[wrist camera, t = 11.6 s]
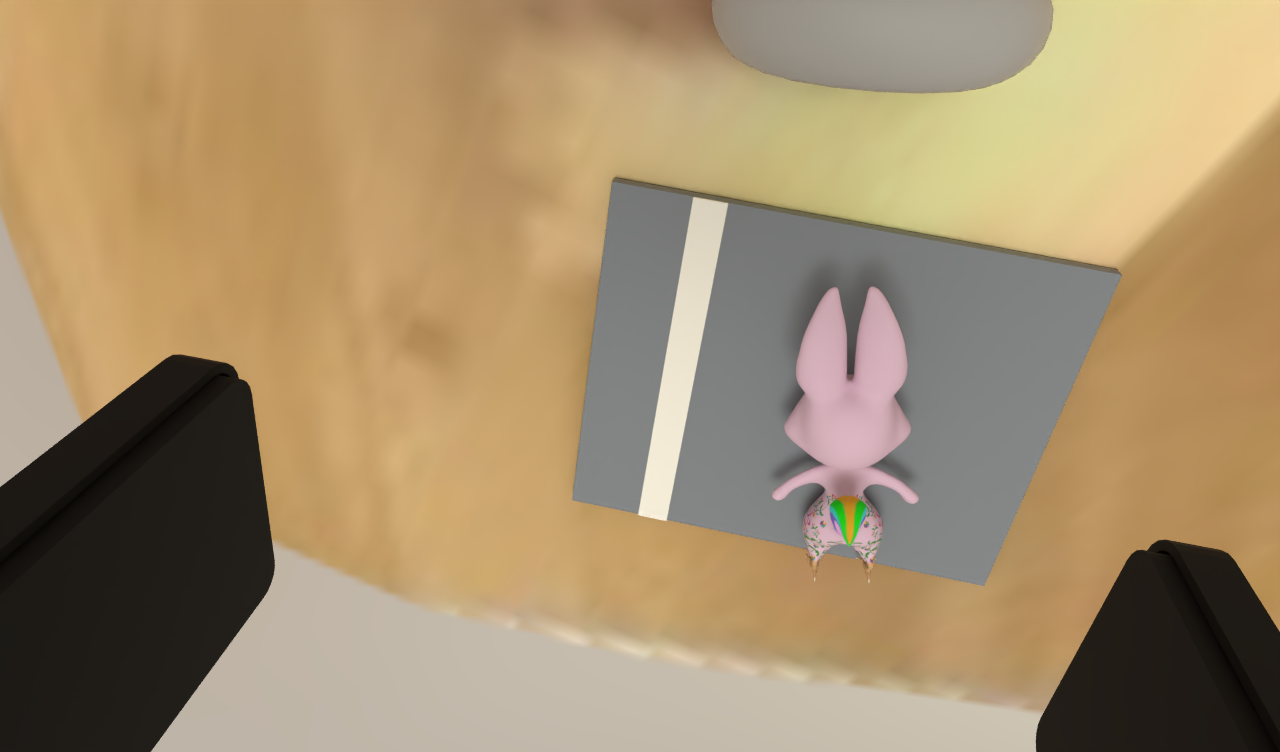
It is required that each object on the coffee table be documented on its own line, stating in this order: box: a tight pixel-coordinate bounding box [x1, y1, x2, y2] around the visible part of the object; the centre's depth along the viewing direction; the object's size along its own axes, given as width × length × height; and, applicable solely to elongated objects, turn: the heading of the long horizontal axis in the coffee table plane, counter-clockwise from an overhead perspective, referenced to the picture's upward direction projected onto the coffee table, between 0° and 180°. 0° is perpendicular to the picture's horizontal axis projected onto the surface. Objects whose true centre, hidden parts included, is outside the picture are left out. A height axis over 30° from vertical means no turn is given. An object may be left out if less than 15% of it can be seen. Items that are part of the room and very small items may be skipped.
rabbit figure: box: [772, 287, 919, 583], centre depth 36 cm, size 6×6×15 cm
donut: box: [712, 0, 1053, 93], centre depth 26 cm, size 10×3×10 cm, turn 87°
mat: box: [572, 178, 1122, 586], centre depth 38 cm, size 16×20×1 cm
